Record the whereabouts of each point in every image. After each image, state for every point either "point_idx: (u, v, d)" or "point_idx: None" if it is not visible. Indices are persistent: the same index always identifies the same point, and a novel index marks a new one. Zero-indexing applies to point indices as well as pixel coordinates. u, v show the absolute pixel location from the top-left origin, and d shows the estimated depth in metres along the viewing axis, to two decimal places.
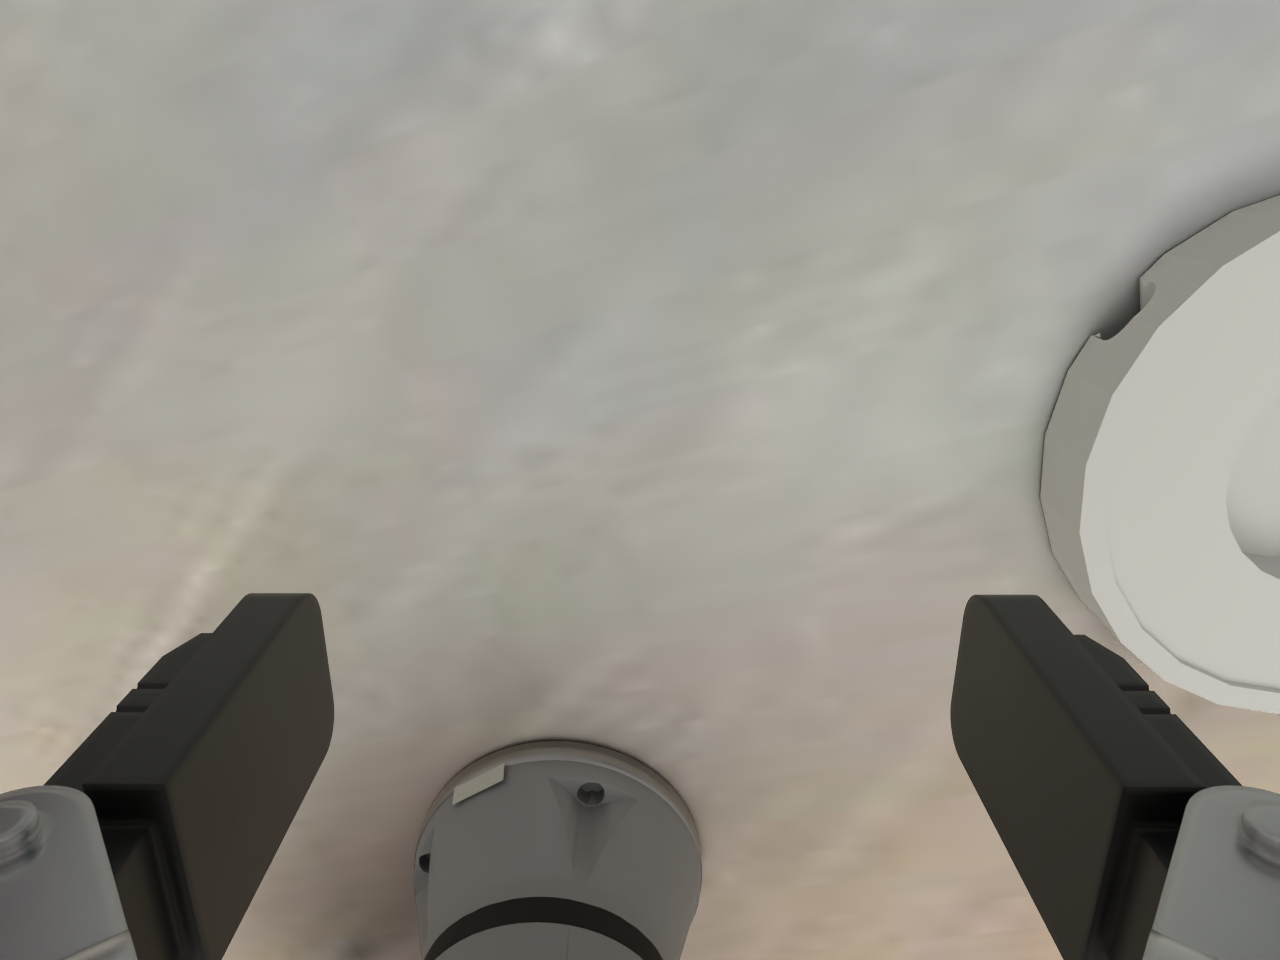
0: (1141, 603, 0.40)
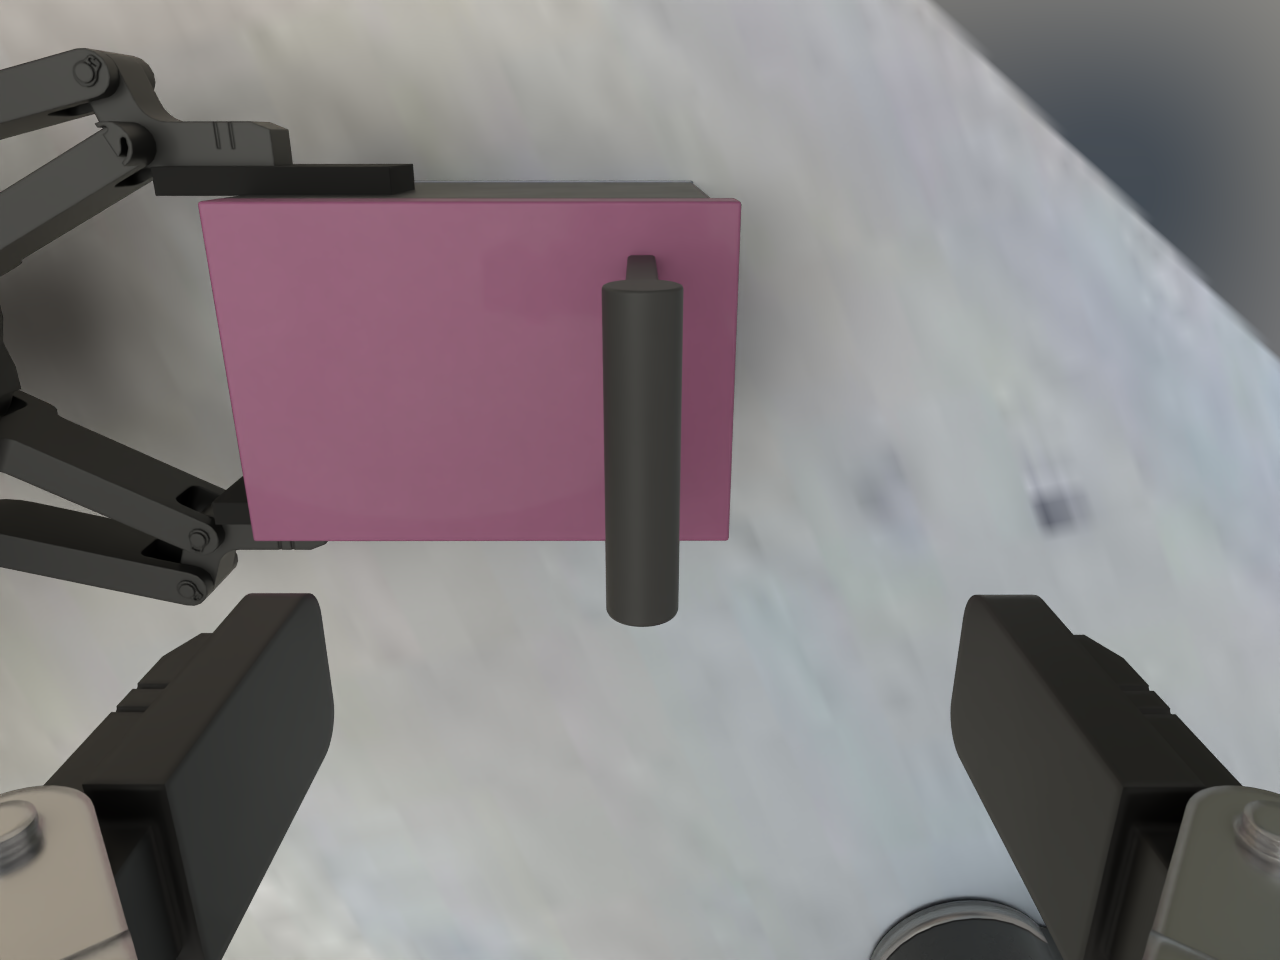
0: None
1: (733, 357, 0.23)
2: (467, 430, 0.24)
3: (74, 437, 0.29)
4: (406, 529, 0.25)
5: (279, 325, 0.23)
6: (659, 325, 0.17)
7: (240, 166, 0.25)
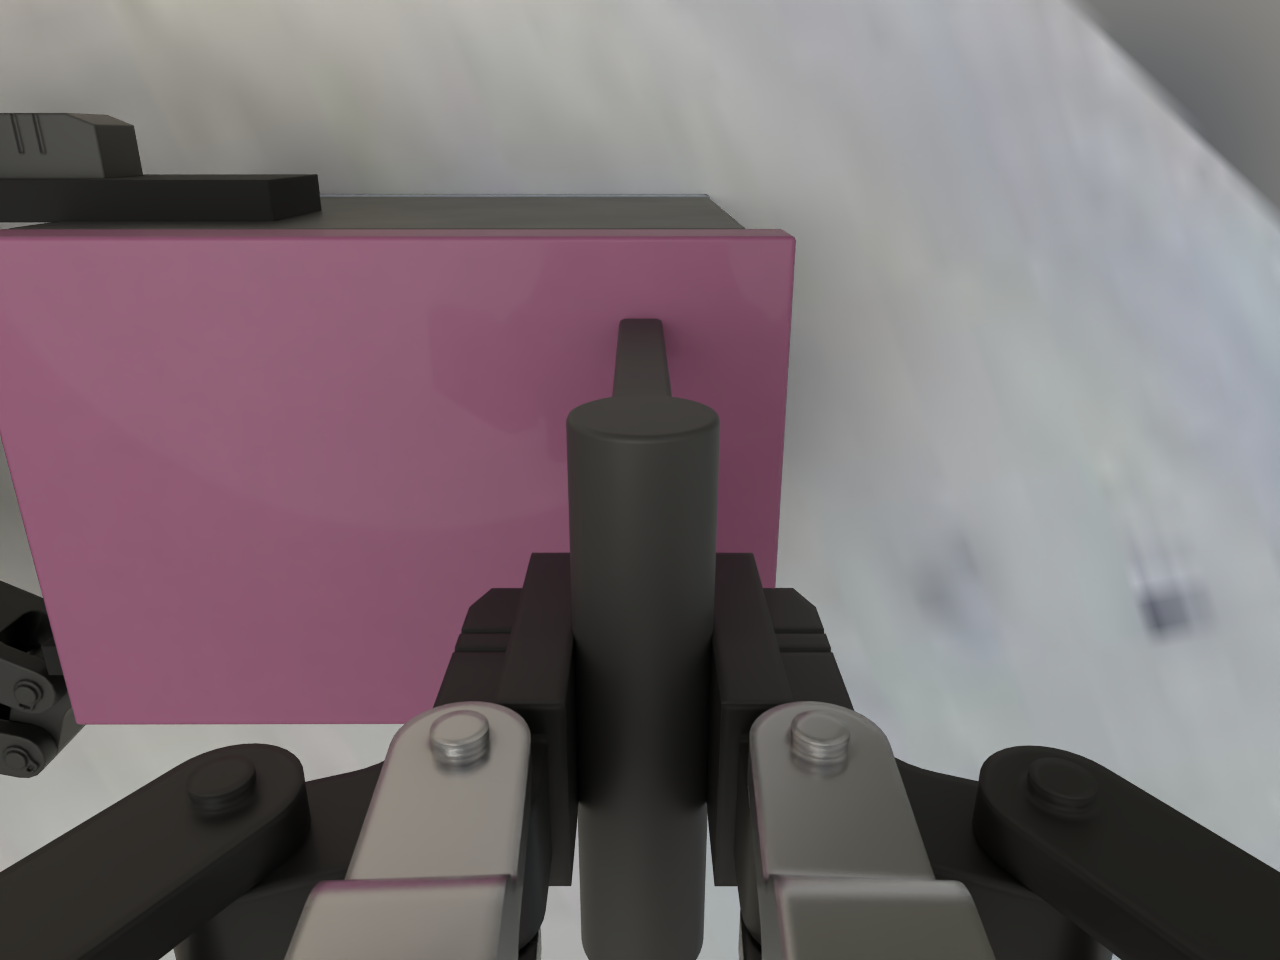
0: None
1: (779, 468, 0.16)
2: (381, 573, 0.16)
3: None
4: (297, 709, 0.17)
5: (90, 422, 0.15)
6: (676, 497, 0.09)
7: (51, 179, 0.17)
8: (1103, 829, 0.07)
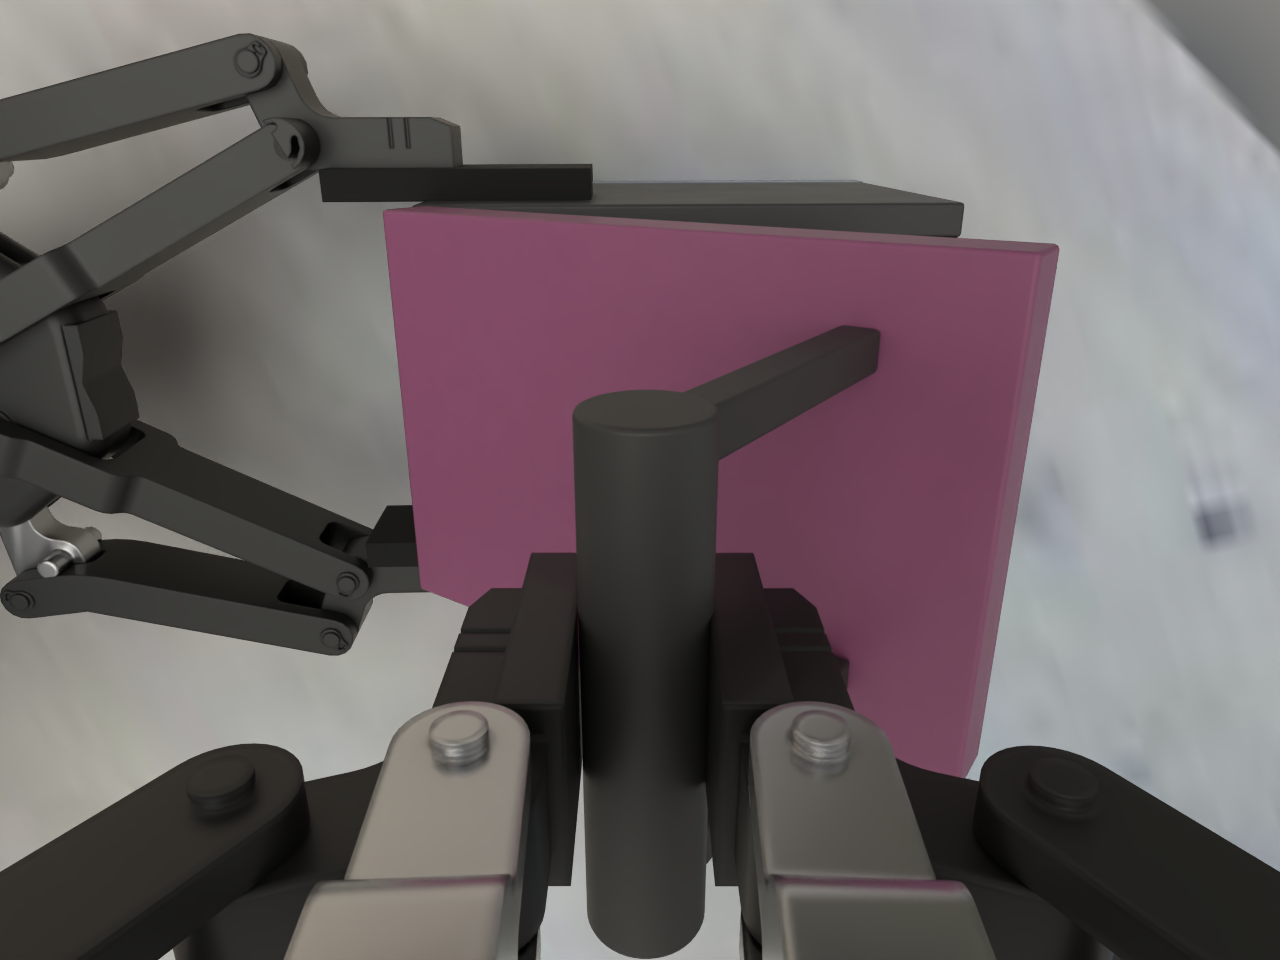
0: None
1: (997, 514, 0.14)
2: None
3: (201, 471, 0.26)
4: None
5: (445, 359, 0.20)
6: (634, 490, 0.09)
7: (418, 168, 0.22)
8: (1104, 829, 0.07)
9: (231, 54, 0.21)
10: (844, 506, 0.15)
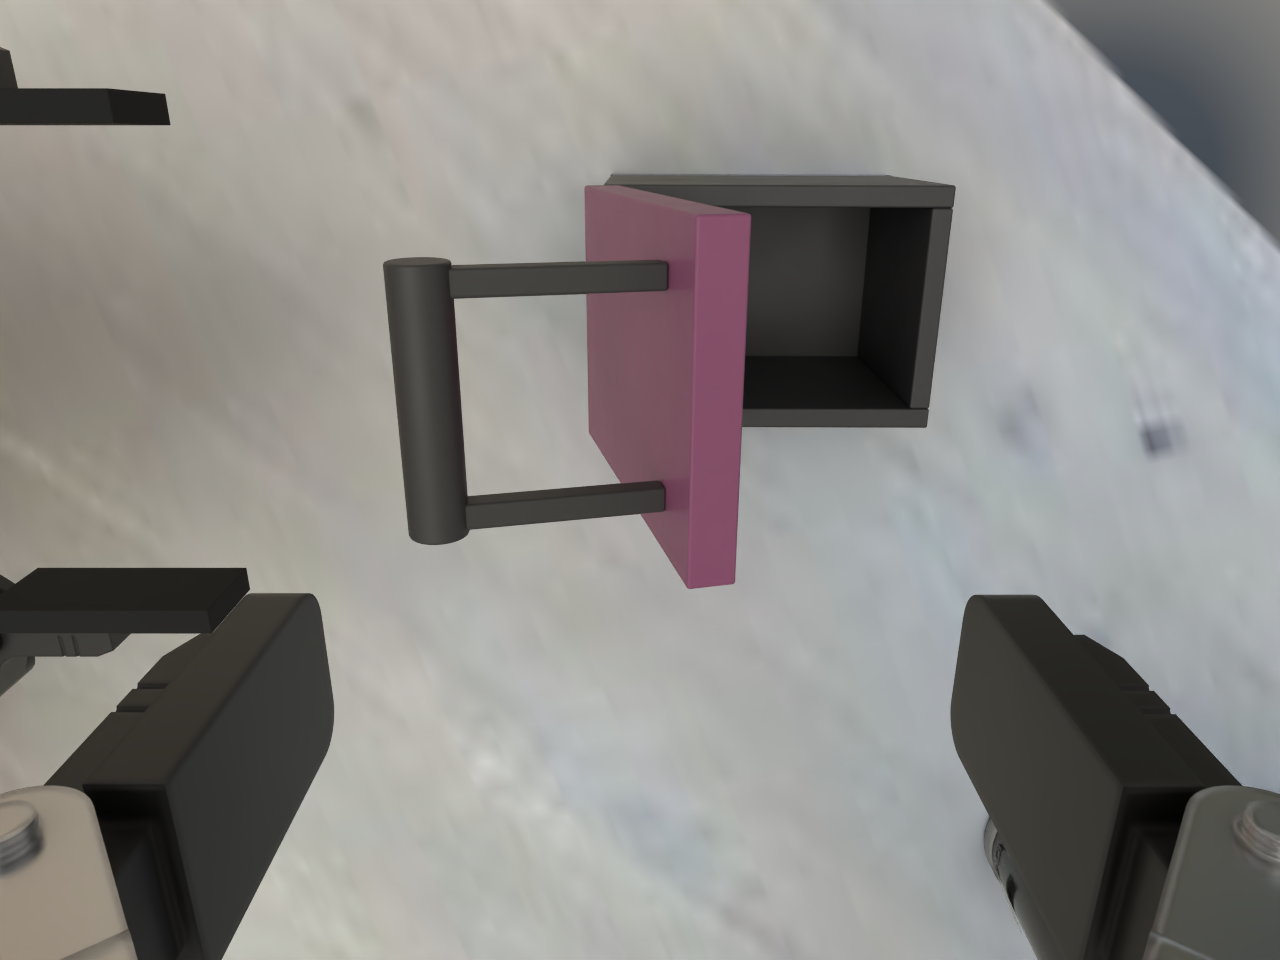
0: None
1: (692, 388, 0.21)
2: (623, 392, 0.28)
3: None
4: (612, 460, 0.31)
5: None
6: (390, 292, 0.21)
7: None
8: None
9: None
10: (664, 380, 0.23)
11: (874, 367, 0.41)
